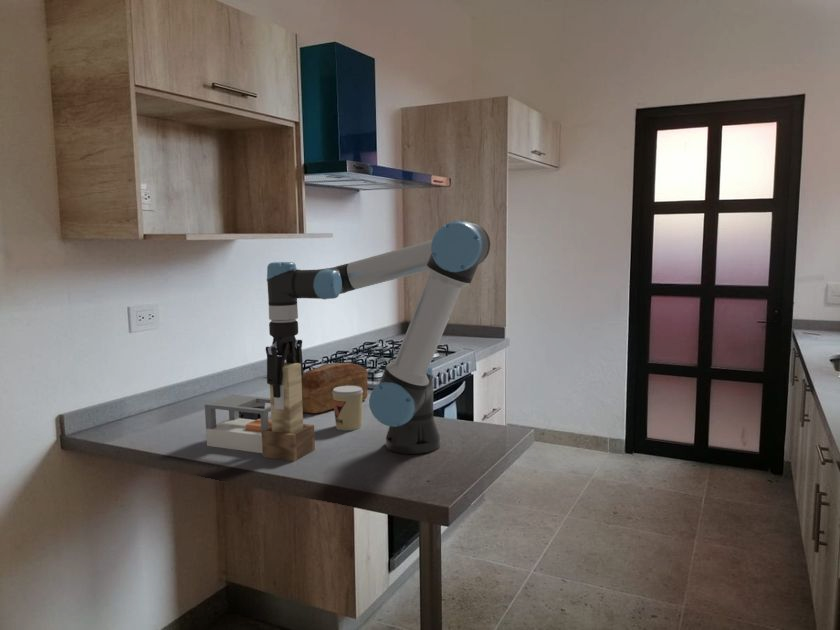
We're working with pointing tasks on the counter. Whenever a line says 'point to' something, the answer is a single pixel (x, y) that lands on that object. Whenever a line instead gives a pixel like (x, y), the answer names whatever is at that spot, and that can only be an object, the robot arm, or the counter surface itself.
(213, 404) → the grey frame
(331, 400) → the bread
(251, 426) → the orange cube
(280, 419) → the tan wooden block
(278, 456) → the holder
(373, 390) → the robot arm
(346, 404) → the coffee cup
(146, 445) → the counter surface
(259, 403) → the electrical switch
